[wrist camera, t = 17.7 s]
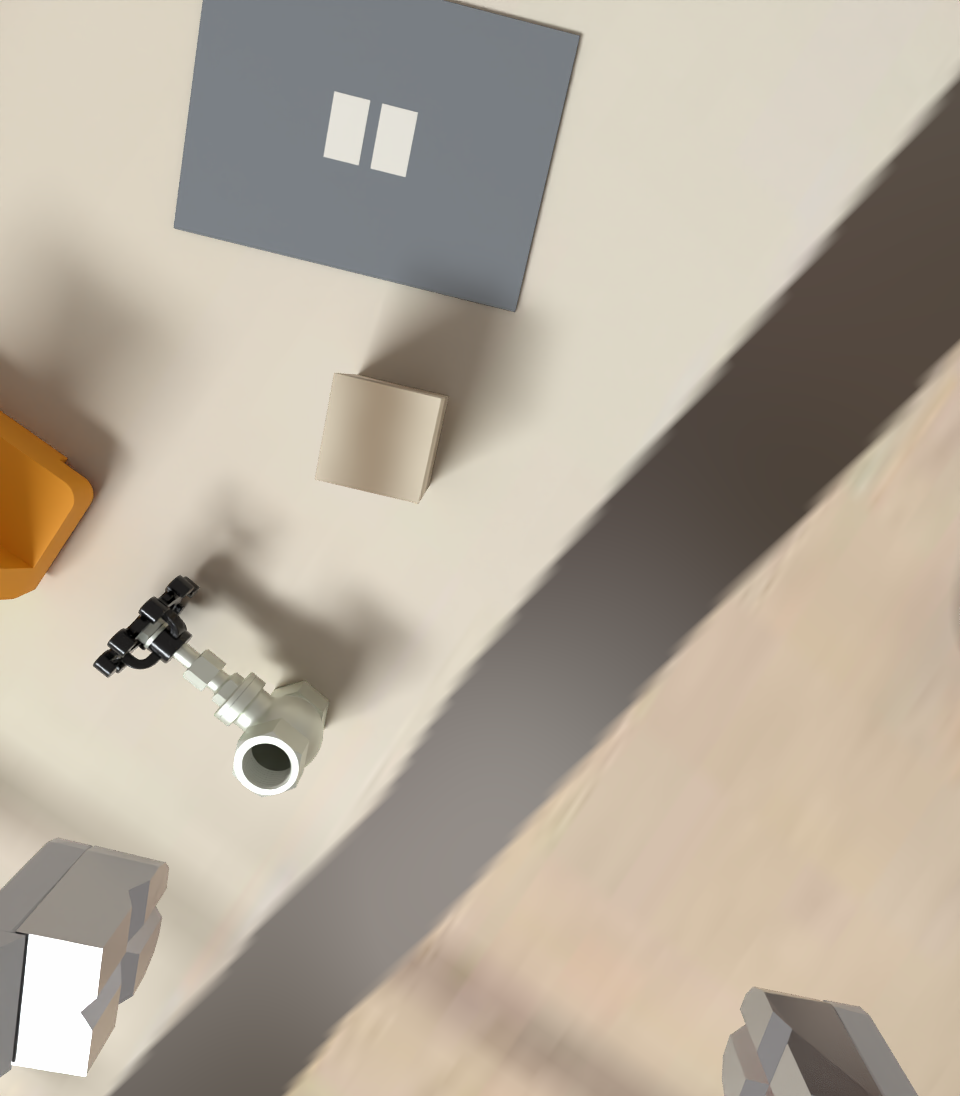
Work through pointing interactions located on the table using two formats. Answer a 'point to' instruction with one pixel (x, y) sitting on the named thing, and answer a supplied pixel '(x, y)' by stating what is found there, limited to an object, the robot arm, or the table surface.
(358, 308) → the table surface
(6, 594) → the bracket
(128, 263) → the table surface
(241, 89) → the grey mat
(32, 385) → the table surface
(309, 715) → the valve
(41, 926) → the robot arm
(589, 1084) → the table surface
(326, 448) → the maple block
